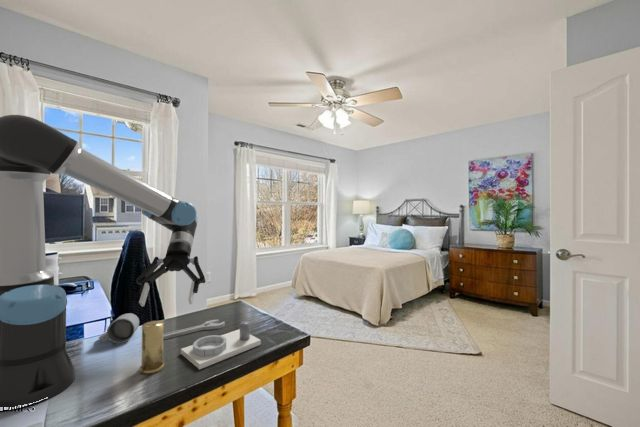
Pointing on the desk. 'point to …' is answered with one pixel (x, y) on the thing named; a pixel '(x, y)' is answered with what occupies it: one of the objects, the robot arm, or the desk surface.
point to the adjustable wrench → (195, 329)
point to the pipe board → (220, 346)
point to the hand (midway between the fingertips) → (166, 303)
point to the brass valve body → (152, 347)
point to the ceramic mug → (121, 328)
